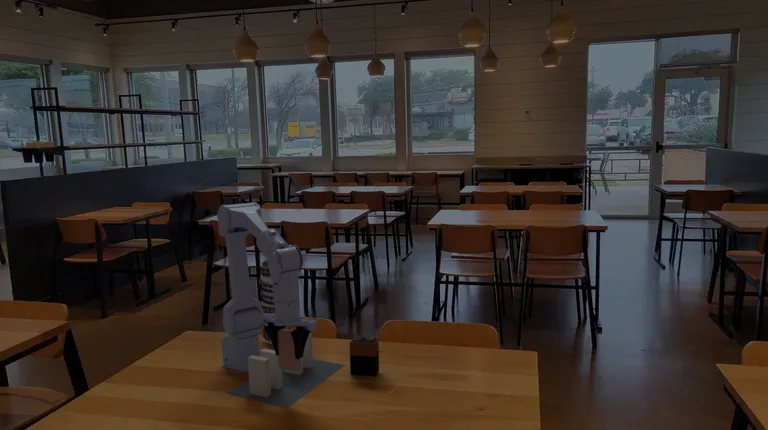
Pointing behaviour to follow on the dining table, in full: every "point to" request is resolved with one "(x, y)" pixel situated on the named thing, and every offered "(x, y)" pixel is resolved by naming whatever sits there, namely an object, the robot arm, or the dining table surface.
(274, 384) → the domino
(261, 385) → the domino
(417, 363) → the dining table surface
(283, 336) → the domino
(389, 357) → the dining table surface
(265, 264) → the decorative candle
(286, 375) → the mat
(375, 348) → the battery
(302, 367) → the domino
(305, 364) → the domino
